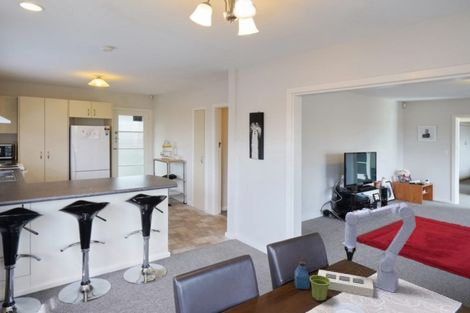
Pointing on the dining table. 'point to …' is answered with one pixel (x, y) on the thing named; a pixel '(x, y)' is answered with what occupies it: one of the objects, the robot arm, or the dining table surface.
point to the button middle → (344, 278)
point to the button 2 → (358, 281)
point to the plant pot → (319, 286)
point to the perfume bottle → (301, 276)
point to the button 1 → (331, 276)
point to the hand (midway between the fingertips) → (349, 260)
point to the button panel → (349, 284)
